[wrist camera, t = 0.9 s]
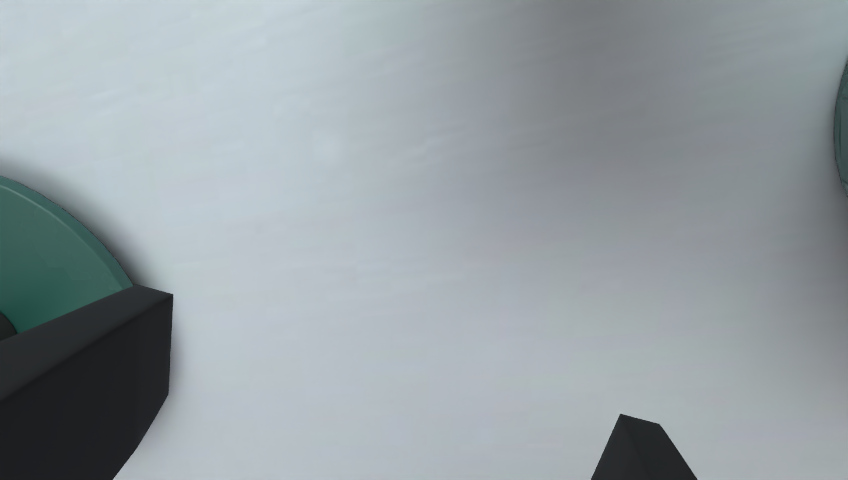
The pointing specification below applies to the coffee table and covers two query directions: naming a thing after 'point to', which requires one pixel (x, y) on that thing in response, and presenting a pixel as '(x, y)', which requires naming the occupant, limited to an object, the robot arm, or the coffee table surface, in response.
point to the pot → (842, 131)
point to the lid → (47, 261)
